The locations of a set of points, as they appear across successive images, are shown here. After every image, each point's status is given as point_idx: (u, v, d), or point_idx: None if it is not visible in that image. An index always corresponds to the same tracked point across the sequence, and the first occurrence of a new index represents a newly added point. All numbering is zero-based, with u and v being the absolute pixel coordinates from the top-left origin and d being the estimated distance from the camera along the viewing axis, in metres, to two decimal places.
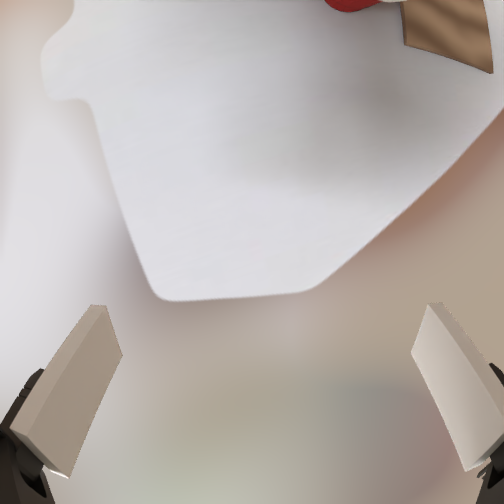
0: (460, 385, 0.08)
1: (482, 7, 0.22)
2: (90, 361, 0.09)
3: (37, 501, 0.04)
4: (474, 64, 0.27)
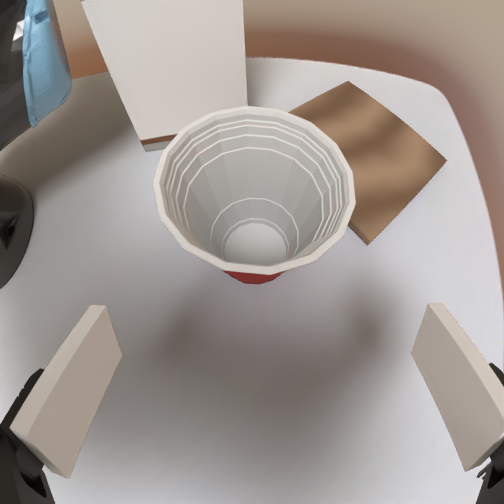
0: (460, 385, 0.08)
1: (371, 100, 0.32)
2: (90, 361, 0.09)
3: (37, 501, 0.04)
4: (431, 175, 0.28)
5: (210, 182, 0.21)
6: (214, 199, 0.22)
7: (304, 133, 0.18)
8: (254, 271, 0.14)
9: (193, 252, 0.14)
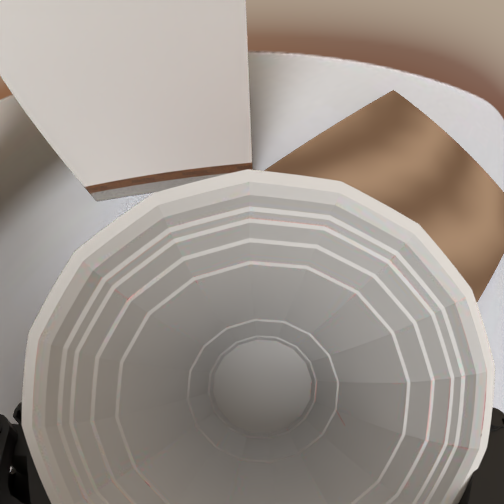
0: None
1: (427, 120, 0.21)
2: None
3: None
4: None
5: (174, 326, 0.10)
6: (187, 342, 0.11)
7: (398, 251, 0.07)
8: None
9: None
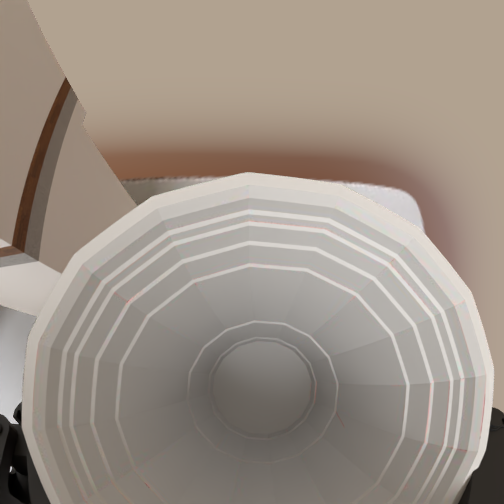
0: None
1: None
2: None
3: None
4: None
5: (174, 328, 0.10)
6: (187, 343, 0.11)
7: (398, 254, 0.07)
8: None
9: None
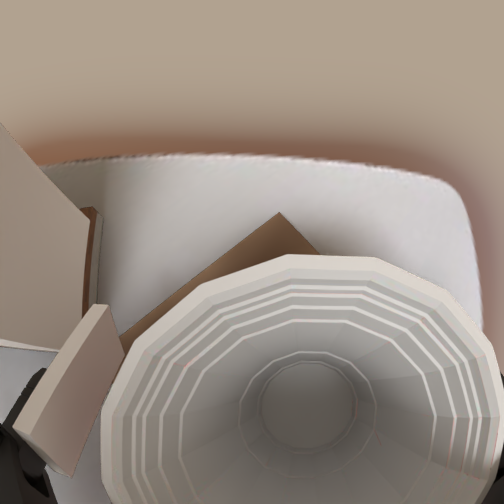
0: None
1: None
2: (93, 360, 0.09)
3: (39, 501, 0.04)
4: None
5: (226, 373, 0.11)
6: (238, 380, 0.12)
7: (427, 314, 0.07)
8: None
9: None
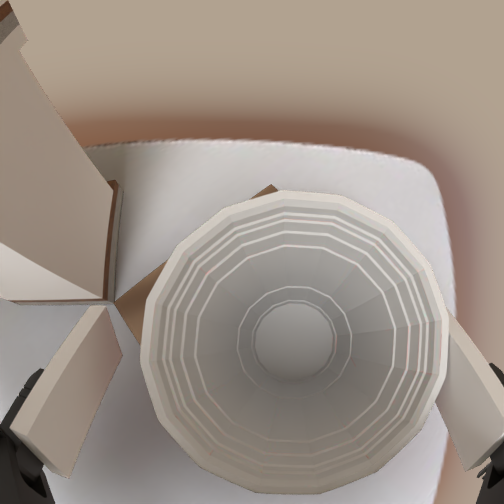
0: (460, 385, 0.08)
1: None
2: (90, 361, 0.09)
3: (37, 501, 0.04)
4: None
5: (231, 292, 0.14)
6: (238, 303, 0.16)
7: (379, 238, 0.11)
8: (297, 492, 0.08)
9: (214, 472, 0.08)
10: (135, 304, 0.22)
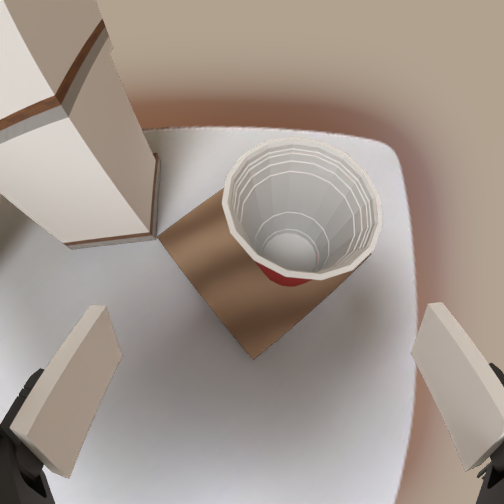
0: (460, 385, 0.08)
1: None
2: (90, 361, 0.09)
3: (37, 501, 0.04)
4: (343, 278, 0.29)
5: (258, 199, 0.24)
6: (258, 214, 0.26)
7: (340, 162, 0.21)
8: (309, 277, 0.17)
9: (261, 262, 0.17)
10: (174, 236, 0.31)
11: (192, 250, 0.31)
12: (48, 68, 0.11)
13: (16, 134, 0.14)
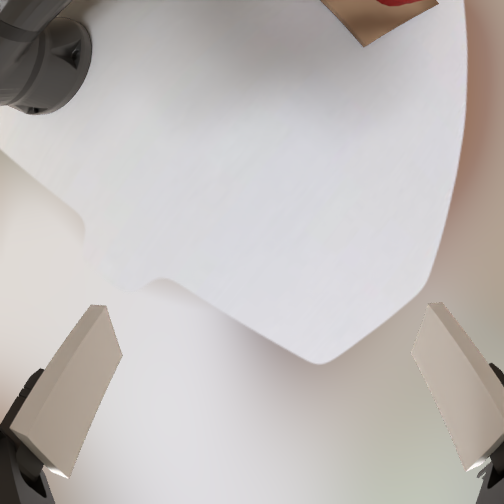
0: (460, 385, 0.08)
1: None
2: (90, 361, 0.09)
3: (37, 501, 0.04)
4: (421, 11, 0.25)
5: None
6: None
7: None
8: None
9: None
10: None
11: None
12: None
13: None
